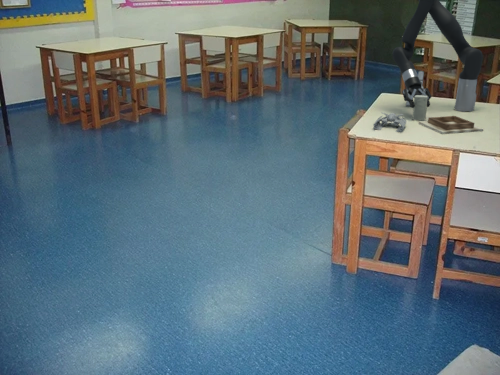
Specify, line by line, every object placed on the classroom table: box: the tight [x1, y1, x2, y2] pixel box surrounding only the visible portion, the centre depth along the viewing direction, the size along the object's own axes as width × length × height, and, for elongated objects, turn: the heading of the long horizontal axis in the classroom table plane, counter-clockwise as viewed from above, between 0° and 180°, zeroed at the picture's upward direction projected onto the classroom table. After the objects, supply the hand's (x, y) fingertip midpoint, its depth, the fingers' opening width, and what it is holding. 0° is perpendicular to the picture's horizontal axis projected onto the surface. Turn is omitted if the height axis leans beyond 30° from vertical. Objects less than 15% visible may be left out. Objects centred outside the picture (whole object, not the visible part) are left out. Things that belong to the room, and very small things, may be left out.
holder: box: [418, 115, 484, 135], centre depth 254 cm, size 22×20×4 cm
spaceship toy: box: [373, 112, 407, 133], centre depth 253 cm, size 14×20×6 cm
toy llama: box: [405, 70, 425, 107], centre depth 297 cm, size 8×18×20 cm, turn 157°
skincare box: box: [412, 95, 428, 122], centre depth 267 cm, size 6×4×12 cm
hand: (421, 106), depth 266 cm, fingers open, 8 cm apart
